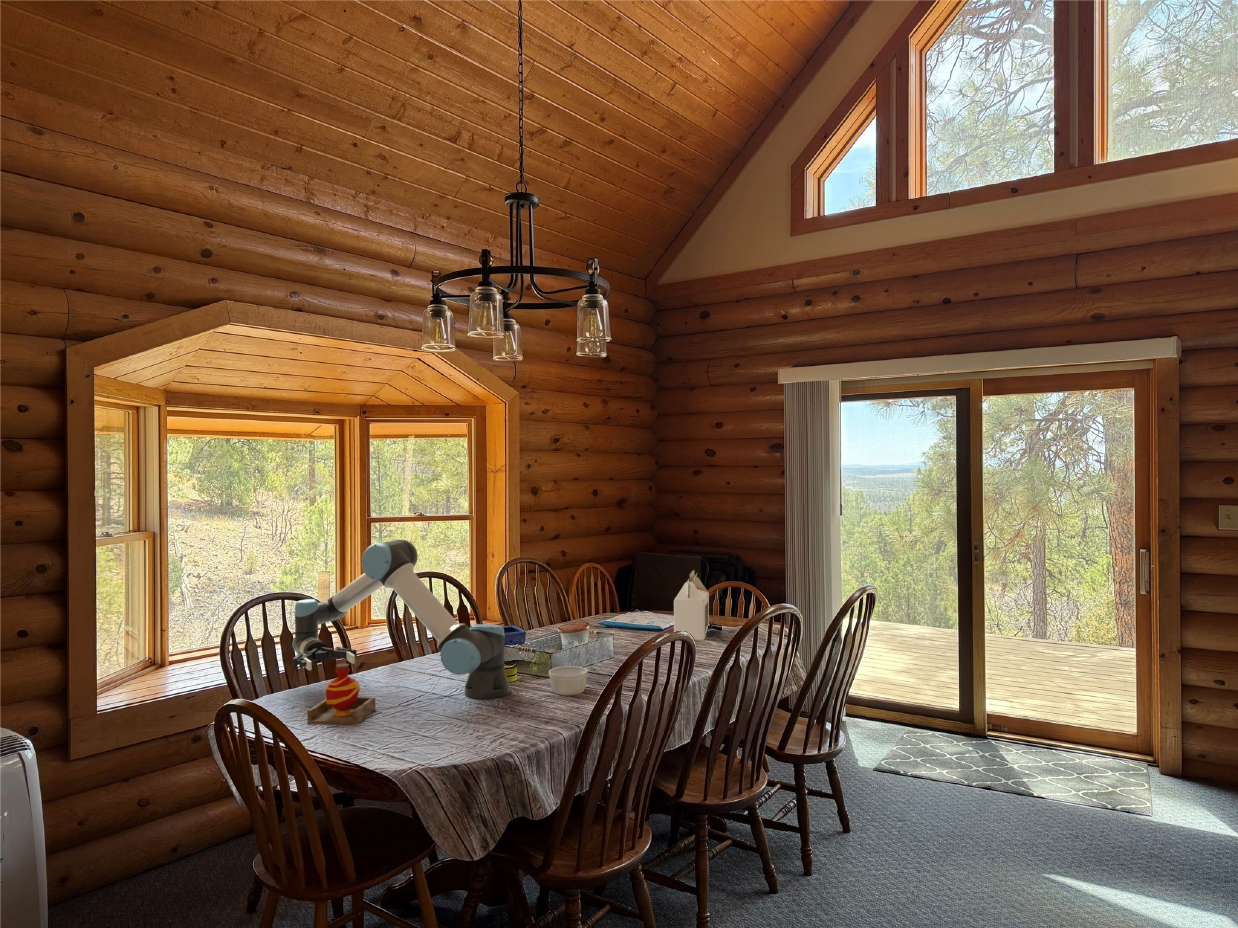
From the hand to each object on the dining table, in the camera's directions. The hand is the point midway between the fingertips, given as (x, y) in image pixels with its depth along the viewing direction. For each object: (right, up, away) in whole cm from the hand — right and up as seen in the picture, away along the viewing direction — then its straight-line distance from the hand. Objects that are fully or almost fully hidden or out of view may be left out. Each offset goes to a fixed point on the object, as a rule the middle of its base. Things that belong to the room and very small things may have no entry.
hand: (332, 662), depth 262 cm
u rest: (+6, -15, -8) cm, 18 cm away
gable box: (+124, -14, +108) cm, 165 cm away
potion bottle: (+6, -14, -8) cm, 17 cm away
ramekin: (+74, -15, +19) cm, 78 cm away
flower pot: (+46, -14, +62) cm, 79 cm away
